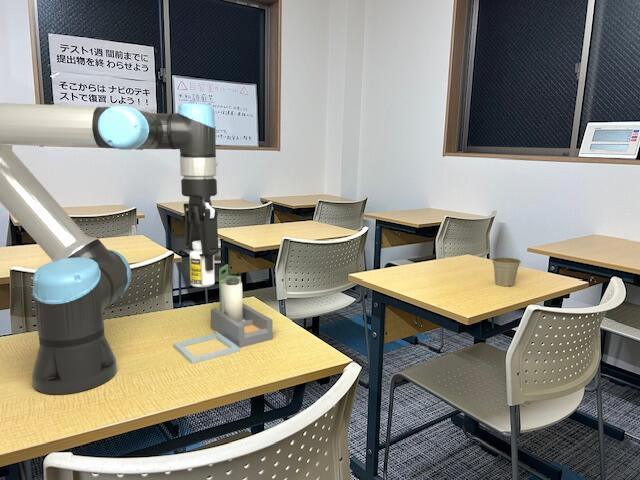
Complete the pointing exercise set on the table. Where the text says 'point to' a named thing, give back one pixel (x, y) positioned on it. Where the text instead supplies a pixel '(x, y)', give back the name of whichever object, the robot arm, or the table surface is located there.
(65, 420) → the table surface
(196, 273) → the supplement bottle
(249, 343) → the grey cubby shelf
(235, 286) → the white thermos bottle
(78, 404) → the table surface
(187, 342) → the grey square frame
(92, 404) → the table surface
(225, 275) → the ink box
